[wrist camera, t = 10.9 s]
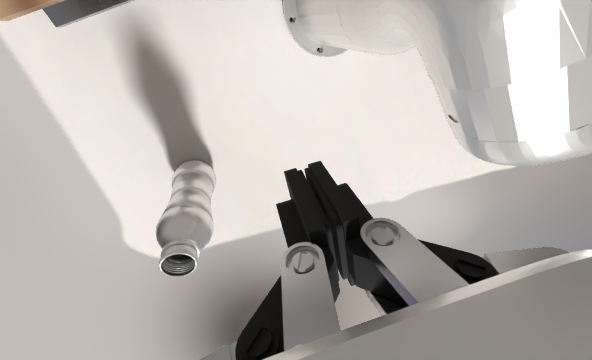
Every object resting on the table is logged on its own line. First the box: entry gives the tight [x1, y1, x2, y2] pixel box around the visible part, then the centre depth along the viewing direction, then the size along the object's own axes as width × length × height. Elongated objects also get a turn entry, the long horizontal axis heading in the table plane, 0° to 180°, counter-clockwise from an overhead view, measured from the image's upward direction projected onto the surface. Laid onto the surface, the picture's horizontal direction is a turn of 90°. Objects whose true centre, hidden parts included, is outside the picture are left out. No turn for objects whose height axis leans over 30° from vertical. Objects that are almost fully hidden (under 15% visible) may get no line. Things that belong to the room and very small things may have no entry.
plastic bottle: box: [156, 160, 216, 277], centre depth 35 cm, size 6×7×20 cm
